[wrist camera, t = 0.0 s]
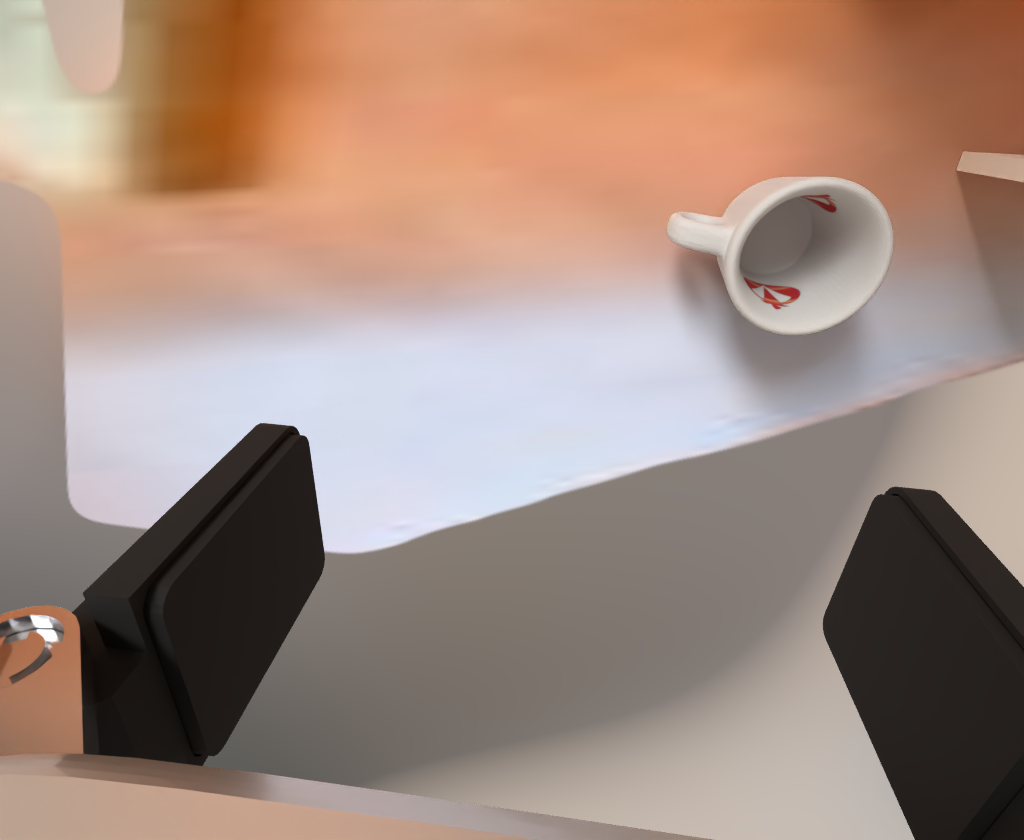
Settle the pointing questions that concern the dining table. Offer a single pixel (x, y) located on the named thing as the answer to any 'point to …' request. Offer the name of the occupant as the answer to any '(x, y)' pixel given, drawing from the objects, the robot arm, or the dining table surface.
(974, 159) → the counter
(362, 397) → the dining table surface
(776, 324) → the cup
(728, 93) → the dining table surface
